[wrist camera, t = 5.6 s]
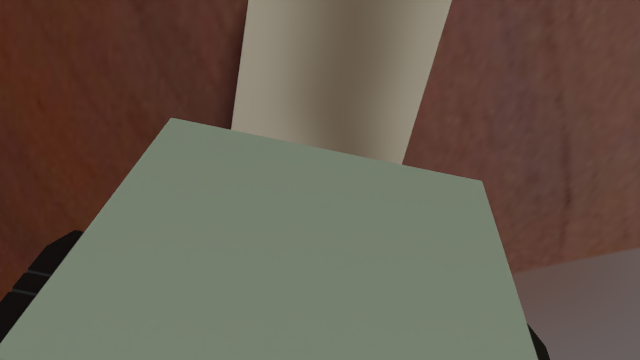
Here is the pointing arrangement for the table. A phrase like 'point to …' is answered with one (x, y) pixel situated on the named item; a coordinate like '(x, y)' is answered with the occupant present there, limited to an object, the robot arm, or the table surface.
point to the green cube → (278, 262)
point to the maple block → (337, 72)
